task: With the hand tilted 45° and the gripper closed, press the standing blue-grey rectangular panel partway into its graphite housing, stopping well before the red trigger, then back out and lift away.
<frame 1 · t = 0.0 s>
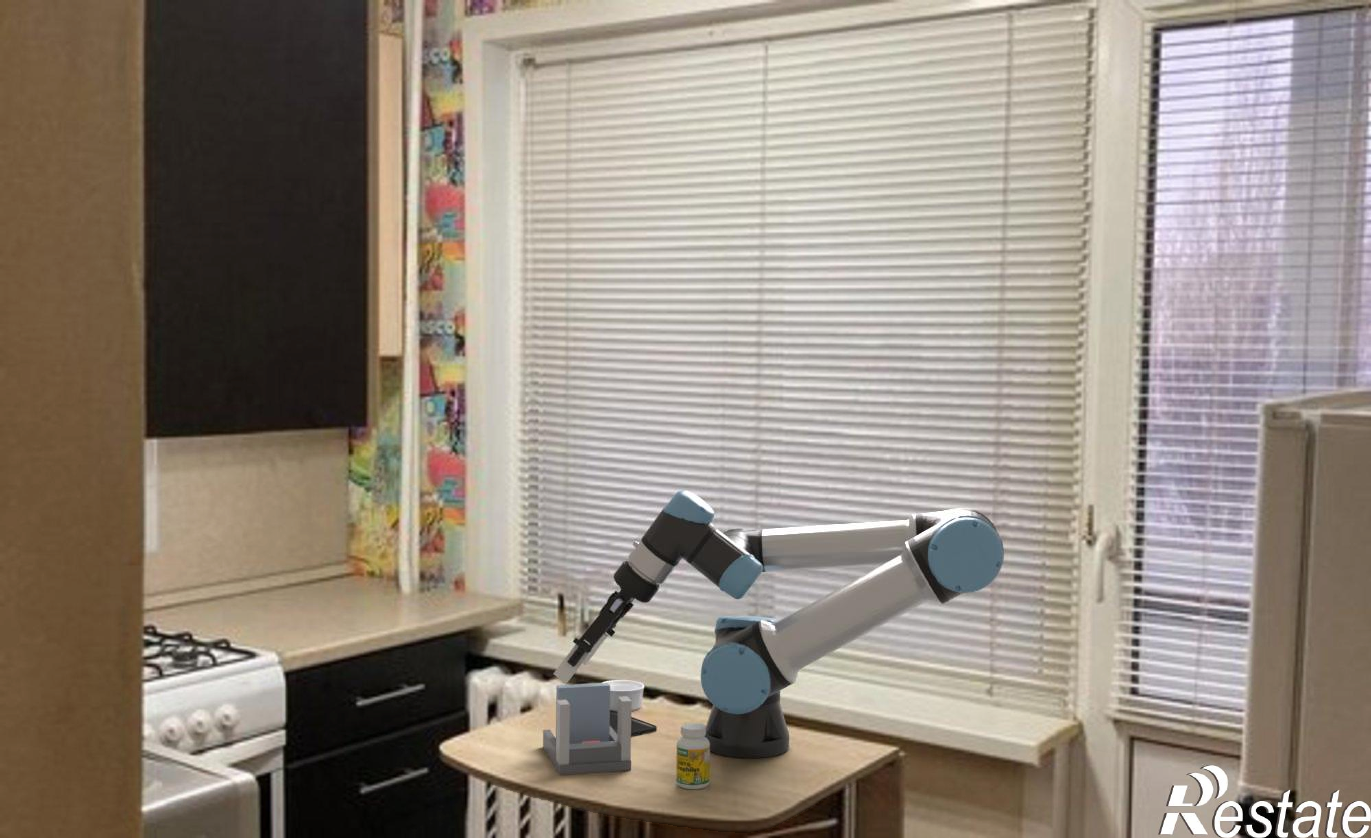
hand: (570, 668, 233), 15 cm above the table, tool tilted 35°, fingers open, 13 cm apart
blue-grey rectangular panel: (582, 713, 236), point 7 cm above the table, slide at 0.0 cm
supplement bottle: (692, 785, 221), on the table
ramekin: (621, 707, 267), on the table
phone: (617, 728, 254), on the table
key housing: (585, 757, 234), on the table
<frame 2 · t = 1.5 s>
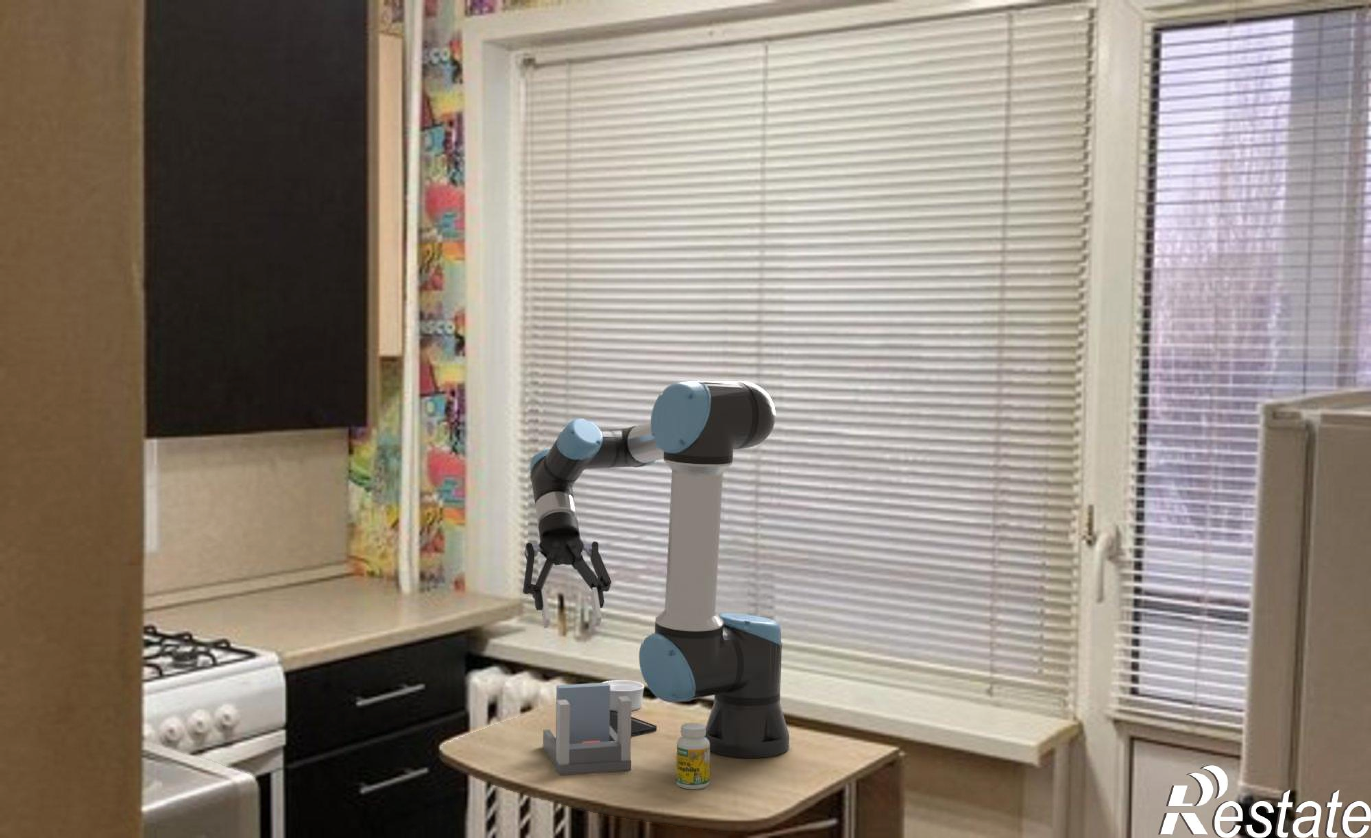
hand: (572, 622, 245), 21 cm above the table, tool tilted 45°, fingers open, 9 cm apart
nothing on the table moved.
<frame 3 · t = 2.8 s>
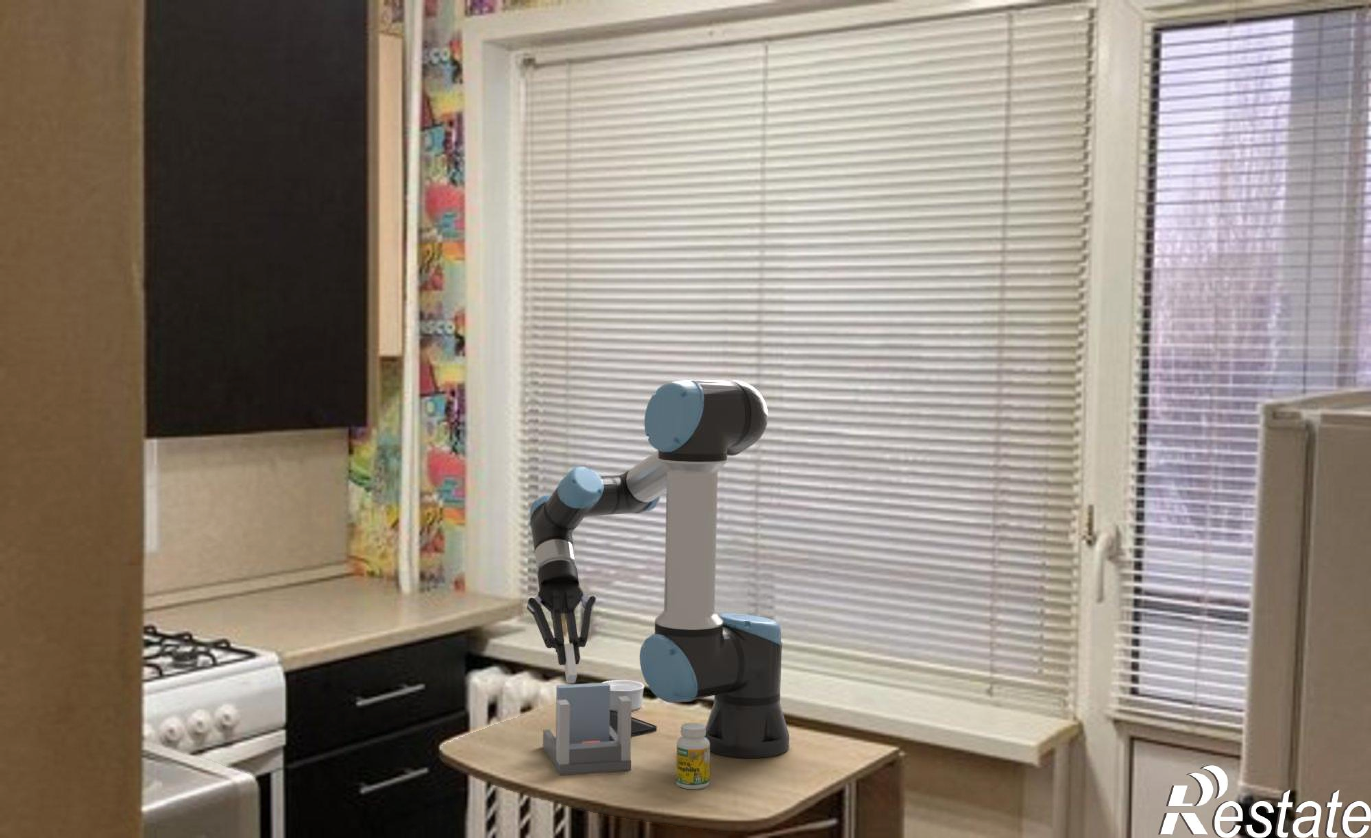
hand: (571, 678, 243), 11 cm above the table, tool tilted 45°, fingers closed
nothing on the table moved.
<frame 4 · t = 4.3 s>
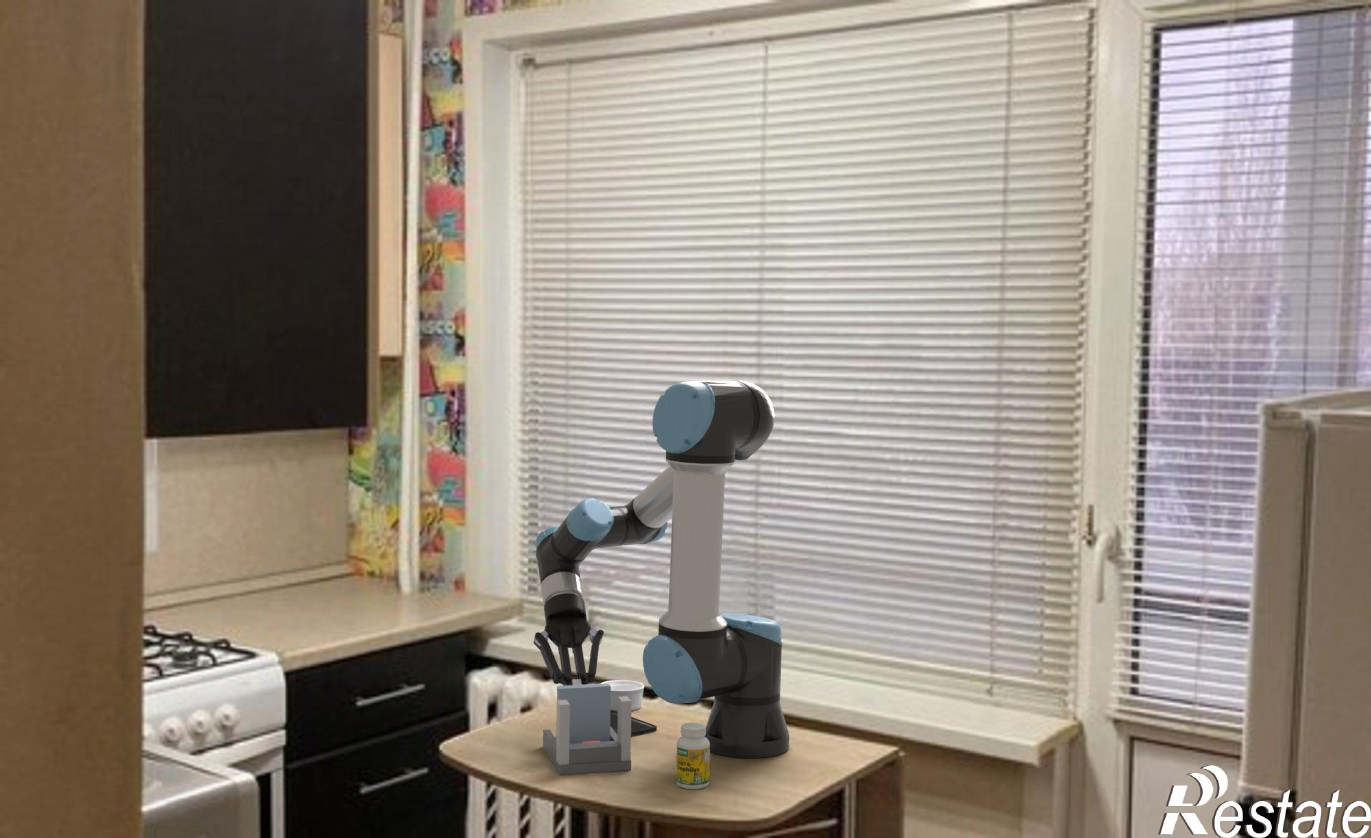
hand: (580, 715, 238), 6 cm above the table, tool tilted 45°, fingers closed
blue-grey rectangular panel: (583, 714, 236), point 7 cm above the table, slide at 0.5 cm, touching gripper
everything else where it was.
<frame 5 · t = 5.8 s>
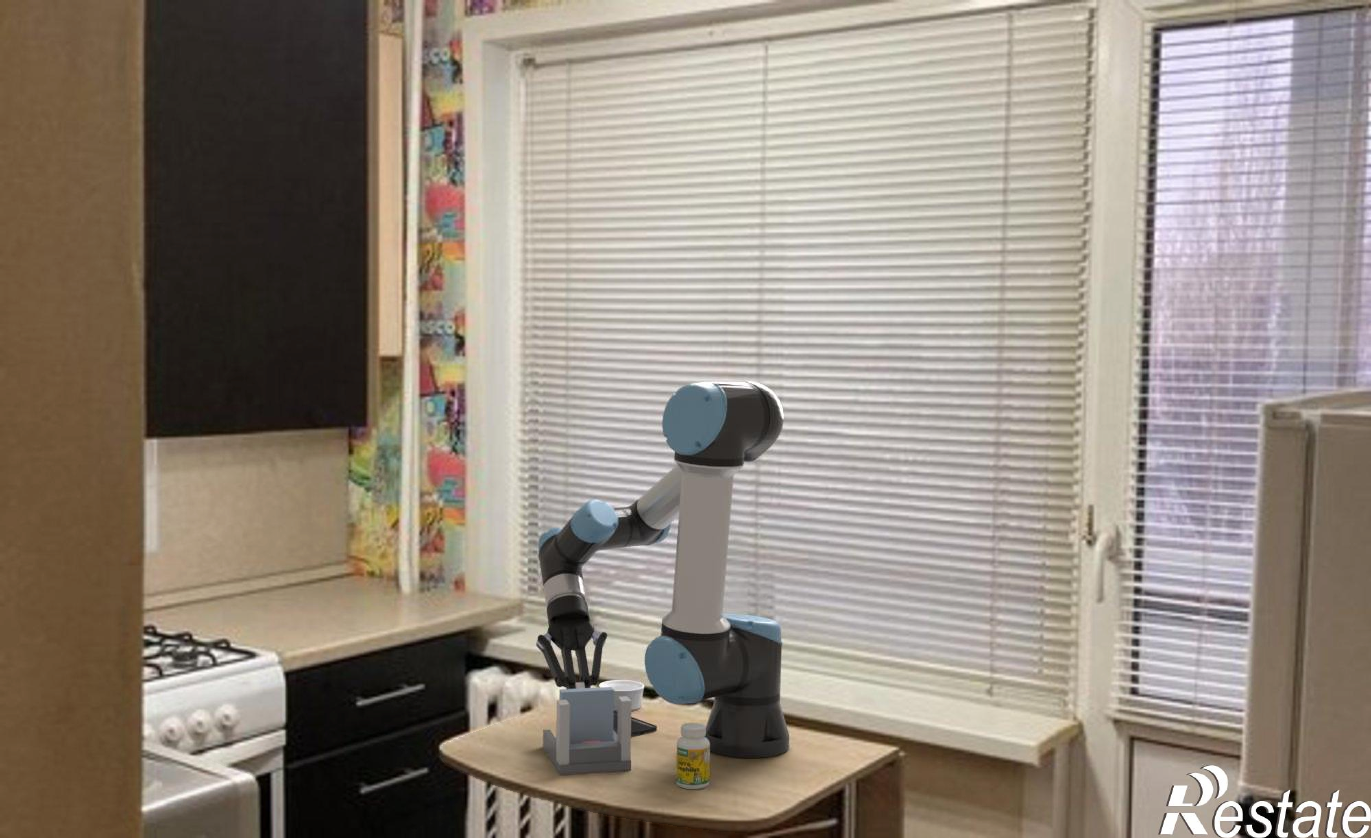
hand: (583, 719, 236), 6 cm above the table, tool tilted 45°, fingers closed
blue-grey rectangular panel: (586, 718, 233), point 7 cm above the table, slide at 2.9 cm
everything else where it was.
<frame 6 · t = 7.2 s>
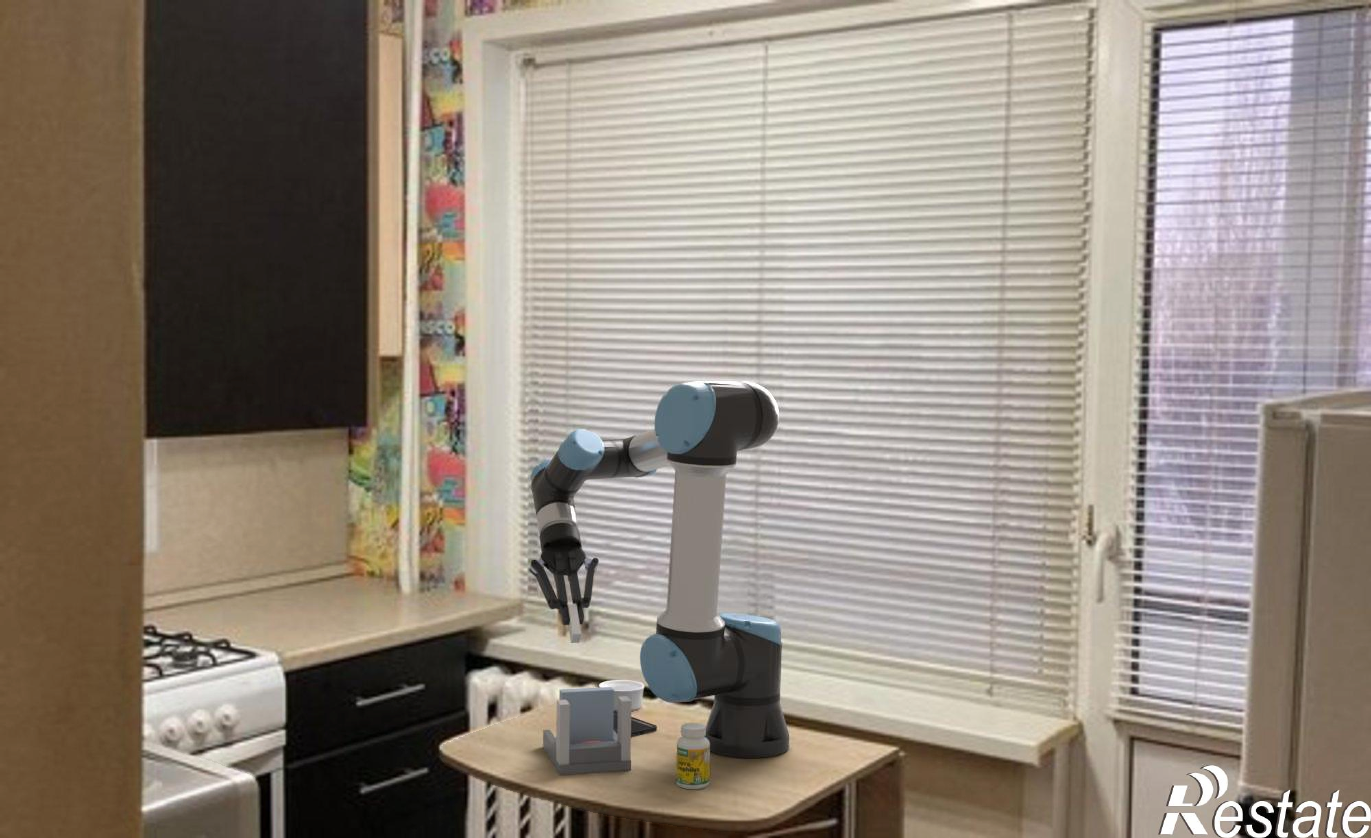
hand: (576, 638, 242), 18 cm above the table, tool tilted 45°, fingers closed
nothing on the table moved.
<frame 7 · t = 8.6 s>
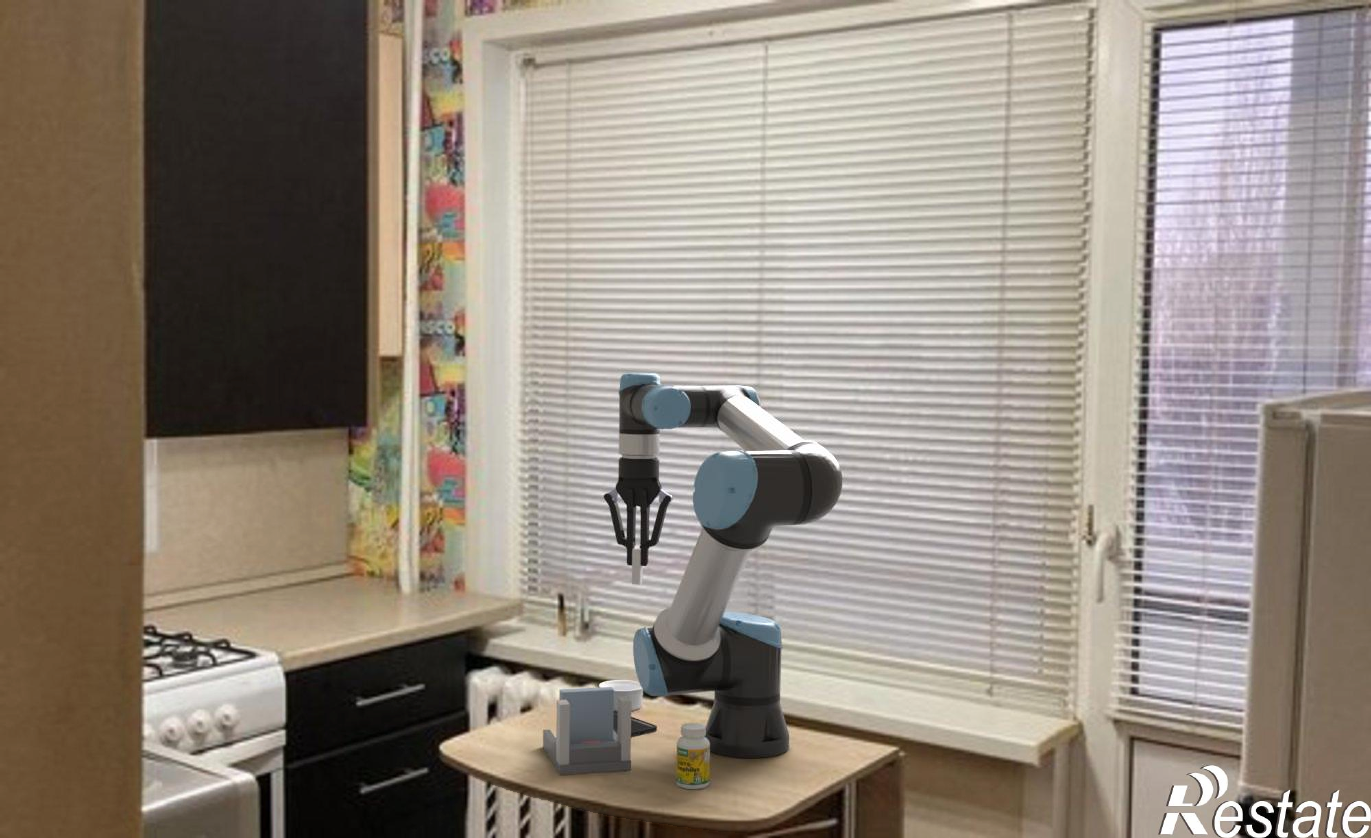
hand: (637, 583, 254), 26 cm above the table, tool pointing down, fingers closed
nothing on the table moved.
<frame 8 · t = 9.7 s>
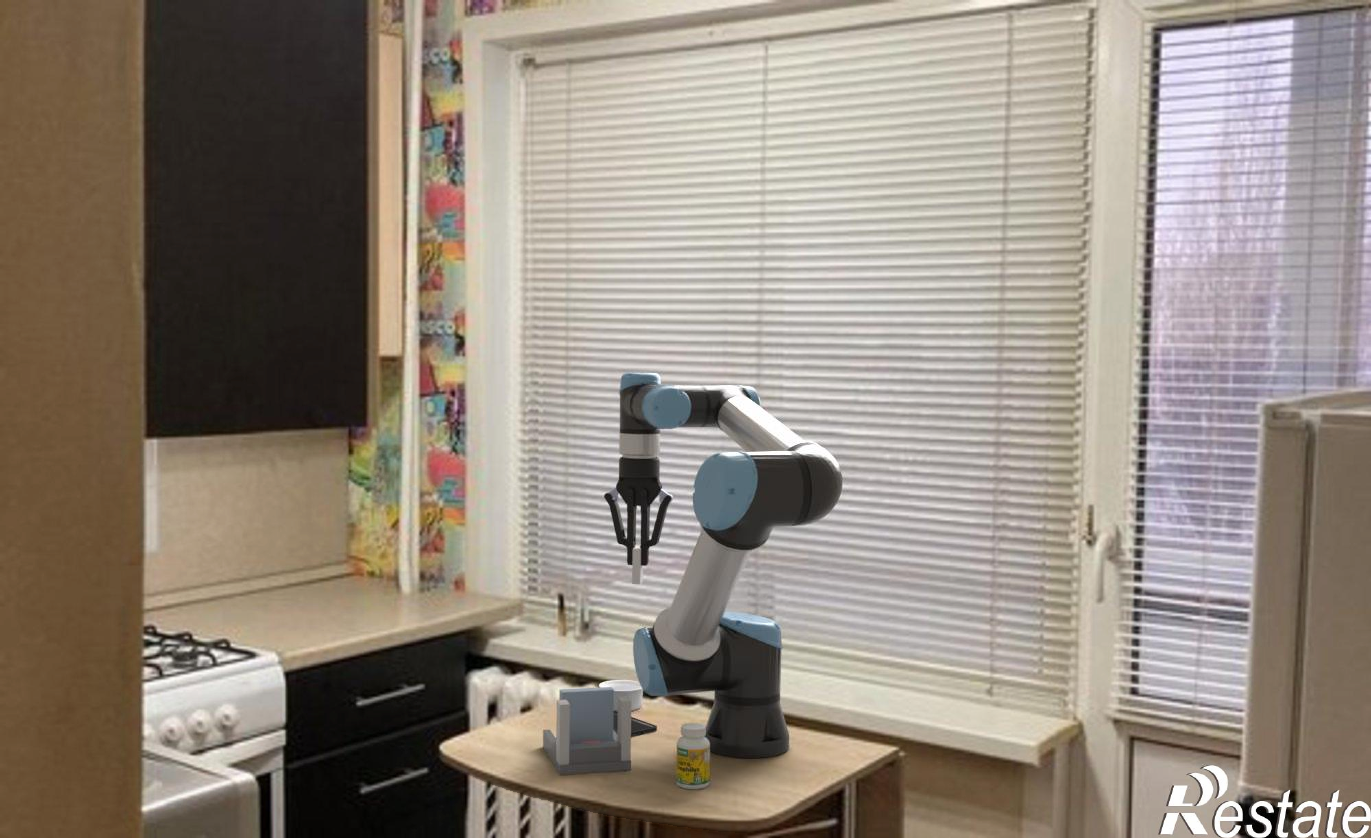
hand: (637, 582, 254), 26 cm above the table, tool pointing down, fingers closed
nothing on the table moved.
at the end: blue-grey rectangular panel slide at 2.9 cm; supplement bottle moved 0.2 cm from its start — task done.
